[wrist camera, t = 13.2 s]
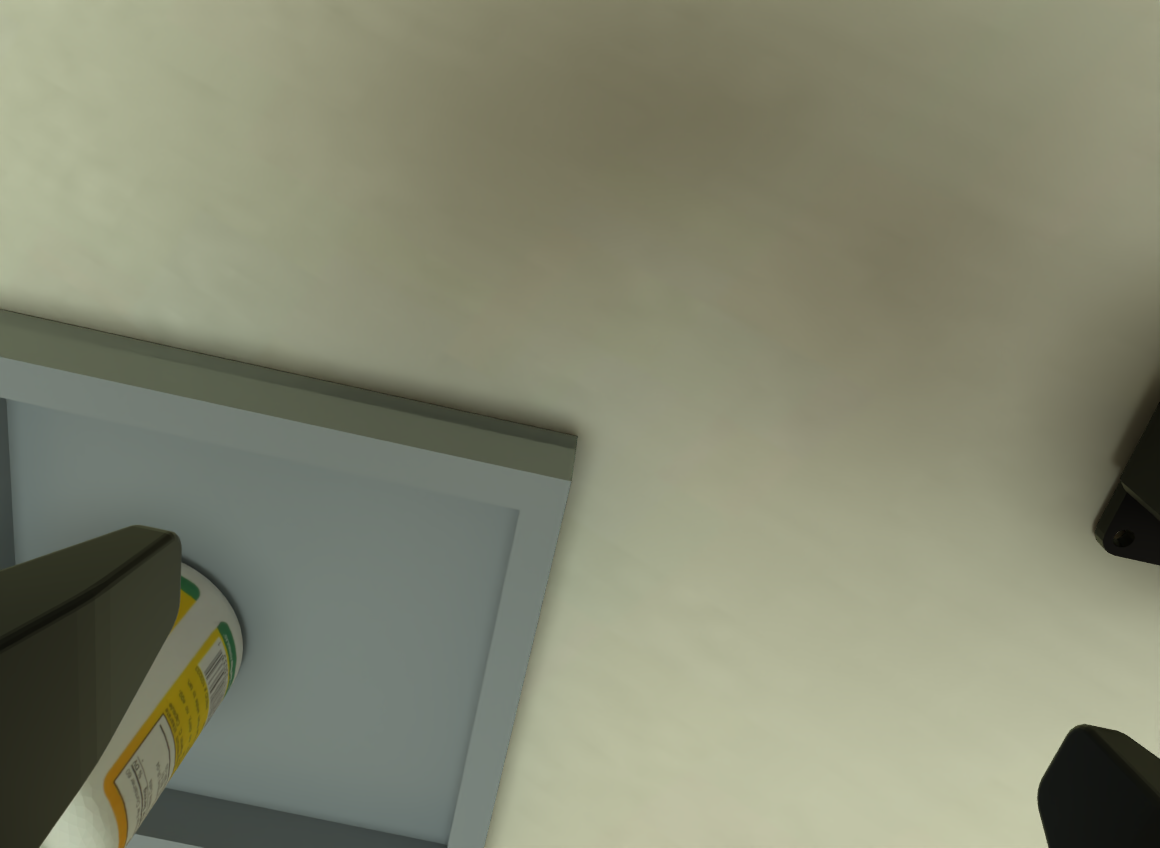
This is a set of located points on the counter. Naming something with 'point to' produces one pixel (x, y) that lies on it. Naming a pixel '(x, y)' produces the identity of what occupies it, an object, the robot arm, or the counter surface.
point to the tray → (303, 575)
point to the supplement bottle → (158, 721)
